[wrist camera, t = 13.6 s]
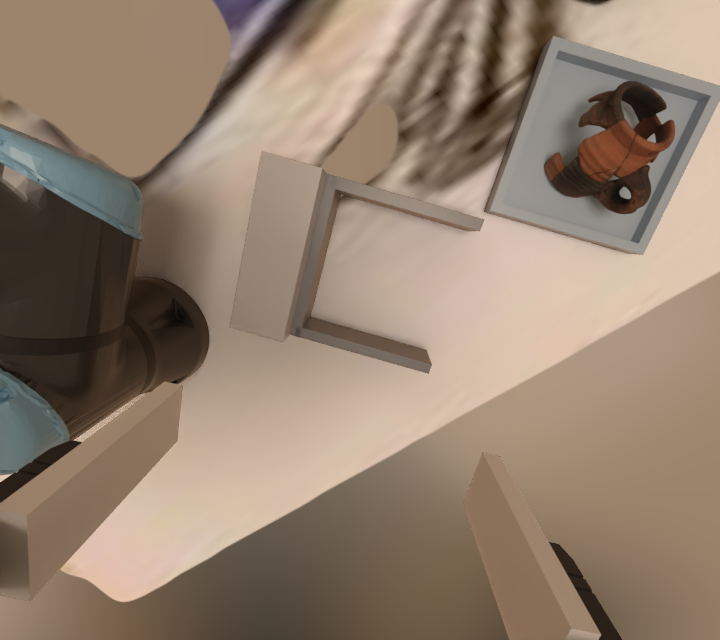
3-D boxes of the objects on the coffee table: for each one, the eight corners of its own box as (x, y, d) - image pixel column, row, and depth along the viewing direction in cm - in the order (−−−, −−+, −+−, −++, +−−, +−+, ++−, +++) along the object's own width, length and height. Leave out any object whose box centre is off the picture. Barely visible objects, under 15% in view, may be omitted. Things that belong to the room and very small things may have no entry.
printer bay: (255, 310, 44) (229, 327, 37) (284, 166, 40) (261, 150, 32) (423, 358, 45) (432, 384, 37) (471, 221, 40) (493, 218, 32)
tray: (483, 211, 40) (489, 210, 37) (542, 47, 35) (553, 35, 33) (628, 253, 40) (642, 254, 38) (705, 96, 35) (725, 87, 33)
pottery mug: (523, 144, 37) (591, 81, 29) (580, 126, 40) (655, 63, 32) (574, 241, 37) (656, 202, 29) (628, 214, 39) (717, 172, 32)
